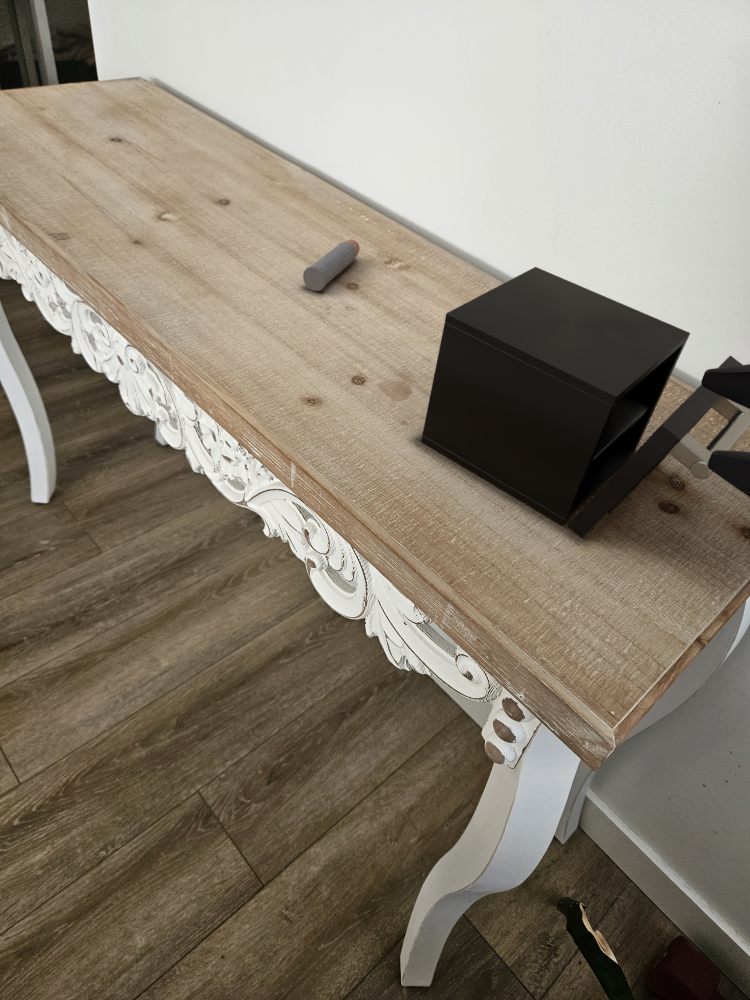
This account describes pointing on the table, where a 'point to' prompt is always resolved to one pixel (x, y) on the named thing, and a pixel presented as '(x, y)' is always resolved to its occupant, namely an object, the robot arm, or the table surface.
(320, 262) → the bullet cartridge
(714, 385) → the robot arm
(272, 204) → the table surface
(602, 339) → the oven
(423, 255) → the table surface
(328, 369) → the table surface
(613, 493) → the oven door
